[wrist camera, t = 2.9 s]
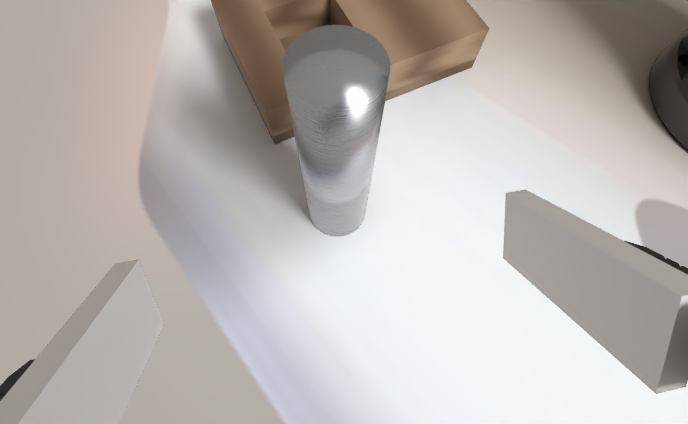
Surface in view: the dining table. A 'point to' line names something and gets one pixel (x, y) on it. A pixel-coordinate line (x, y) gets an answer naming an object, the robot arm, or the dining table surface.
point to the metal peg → (336, 119)
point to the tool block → (356, 11)
